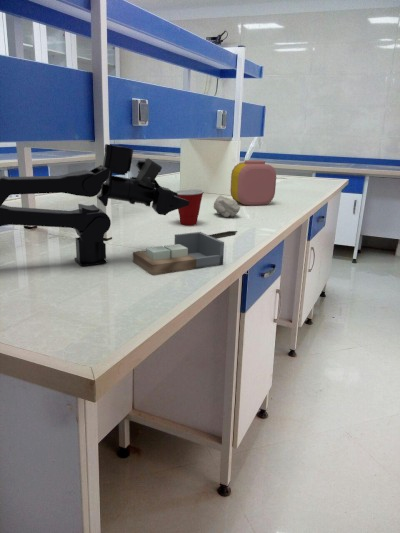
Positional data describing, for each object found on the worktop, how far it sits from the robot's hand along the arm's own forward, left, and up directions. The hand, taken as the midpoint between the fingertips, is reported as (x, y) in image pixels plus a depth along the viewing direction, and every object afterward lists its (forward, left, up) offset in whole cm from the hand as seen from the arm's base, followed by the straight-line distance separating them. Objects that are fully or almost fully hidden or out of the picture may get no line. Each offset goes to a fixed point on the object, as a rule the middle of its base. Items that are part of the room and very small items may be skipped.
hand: (183, 199), depth 120 cm
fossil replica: (+41, +40, -16) cm, 59 cm away
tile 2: (-6, -7, -13) cm, 16 cm away
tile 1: (-11, -7, -13) cm, 18 cm away
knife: (+17, +13, -16) cm, 27 cm away
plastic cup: (+20, +33, -15) cm, 42 cm away
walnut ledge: (-9, -7, -15) cm, 19 cm away
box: (+1, -7, -15) cm, 17 cm away
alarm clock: (+68, +59, -15) cm, 91 cm away
